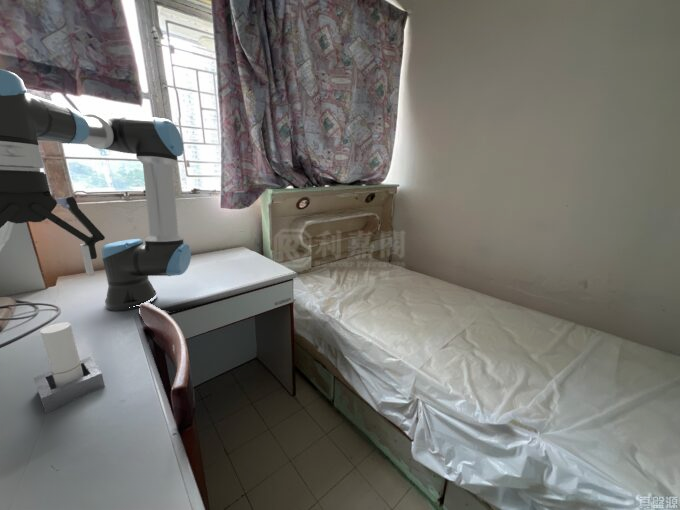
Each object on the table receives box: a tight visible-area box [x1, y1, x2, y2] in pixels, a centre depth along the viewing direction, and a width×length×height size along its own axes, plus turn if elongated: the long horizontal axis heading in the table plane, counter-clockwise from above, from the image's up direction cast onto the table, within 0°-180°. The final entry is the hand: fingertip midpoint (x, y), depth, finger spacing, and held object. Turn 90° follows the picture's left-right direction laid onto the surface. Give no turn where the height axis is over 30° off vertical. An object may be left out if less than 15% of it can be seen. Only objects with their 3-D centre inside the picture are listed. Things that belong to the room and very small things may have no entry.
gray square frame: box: [33, 356, 106, 414], centre depth 58 cm, size 9×9×4 cm
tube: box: [39, 321, 84, 388], centre depth 56 cm, size 4×4×15 cm
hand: (44, 283), depth 52 cm, fingers open, 13 cm apart
